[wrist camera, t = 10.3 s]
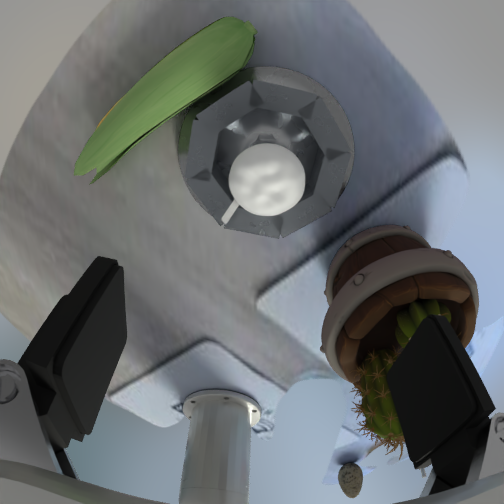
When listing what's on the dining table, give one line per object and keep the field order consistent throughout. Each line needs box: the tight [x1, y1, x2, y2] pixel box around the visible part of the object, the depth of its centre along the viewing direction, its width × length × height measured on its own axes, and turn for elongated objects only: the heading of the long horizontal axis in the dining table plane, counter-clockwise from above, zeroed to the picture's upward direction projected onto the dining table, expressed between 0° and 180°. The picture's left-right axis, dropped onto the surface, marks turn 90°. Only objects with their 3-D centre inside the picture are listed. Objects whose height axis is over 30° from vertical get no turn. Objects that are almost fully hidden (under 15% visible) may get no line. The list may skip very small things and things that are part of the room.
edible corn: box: [74, 17, 257, 185], centre depth 22 cm, size 5×20×5 cm
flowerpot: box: [320, 225, 479, 460], centre depth 23 cm, size 14×15×20 cm
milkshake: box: [221, 133, 305, 225], centre depth 21 cm, size 4×5×10 cm
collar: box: [178, 66, 354, 239], centre depth 25 cm, size 15×15×4 cm
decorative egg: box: [338, 463, 363, 498], centre depth 57 cm, size 6×6×10 cm
